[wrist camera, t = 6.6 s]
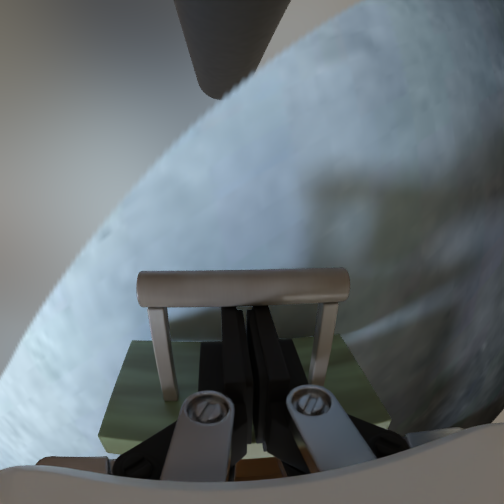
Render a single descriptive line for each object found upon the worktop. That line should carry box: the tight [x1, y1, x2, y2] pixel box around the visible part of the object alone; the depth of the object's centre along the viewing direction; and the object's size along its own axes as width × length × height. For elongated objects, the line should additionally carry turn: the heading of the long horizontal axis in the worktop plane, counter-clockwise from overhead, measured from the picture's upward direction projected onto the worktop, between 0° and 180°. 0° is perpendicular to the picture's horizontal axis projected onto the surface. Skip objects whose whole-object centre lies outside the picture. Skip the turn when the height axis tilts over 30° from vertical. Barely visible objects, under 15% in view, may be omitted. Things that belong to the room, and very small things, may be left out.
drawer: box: [98, 267, 391, 482], centre depth 14 cm, size 19×11×7 cm, turn 179°
